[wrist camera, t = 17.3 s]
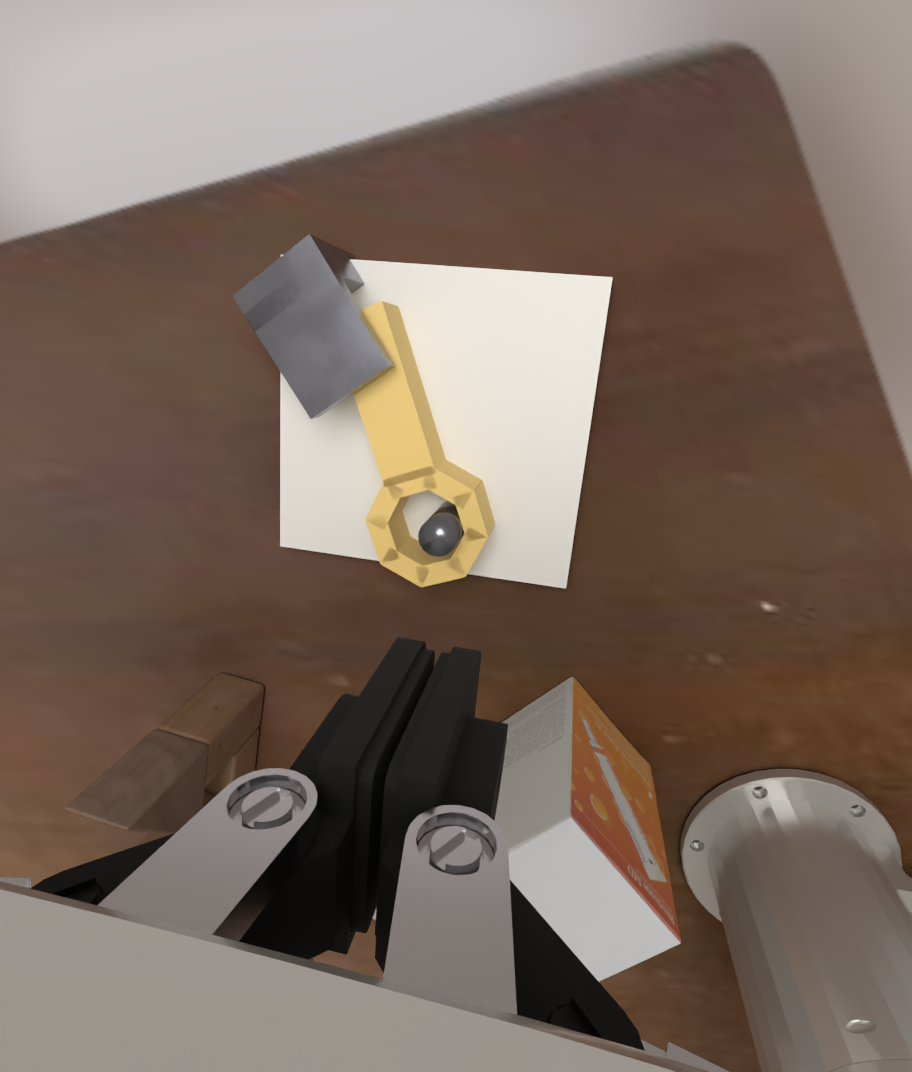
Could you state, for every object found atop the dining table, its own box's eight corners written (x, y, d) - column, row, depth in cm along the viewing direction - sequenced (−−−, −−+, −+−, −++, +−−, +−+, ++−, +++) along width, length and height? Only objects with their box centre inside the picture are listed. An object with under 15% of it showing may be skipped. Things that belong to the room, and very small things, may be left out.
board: (611, 280, 32) (612, 277, 31) (566, 581, 37) (566, 588, 36) (290, 258, 35) (280, 254, 34) (288, 540, 40) (280, 546, 39)
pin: (476, 497, 37) (457, 522, 31) (473, 529, 37) (454, 559, 31) (443, 492, 37) (419, 516, 31) (441, 524, 37) (416, 553, 32)
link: (504, 552, 36) (497, 569, 33) (404, 576, 38) (390, 594, 35) (427, 295, 33) (413, 289, 30) (322, 333, 34) (299, 331, 32)
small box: (652, 763, 39) (686, 947, 27) (573, 808, 41) (572, 998, 29) (573, 671, 39) (571, 816, 26) (496, 721, 41) (461, 878, 28)
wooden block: (267, 683, 43) (65, 892, 26) (253, 804, 46) (67, 1059, 29) (219, 669, 44) (-9, 866, 27) (209, 790, 47) (0, 1034, 30)
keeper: (285, 305, 36) (232, 296, 30) (352, 254, 34) (309, 234, 29) (350, 410, 37) (310, 419, 31) (418, 364, 35) (389, 365, 30)
